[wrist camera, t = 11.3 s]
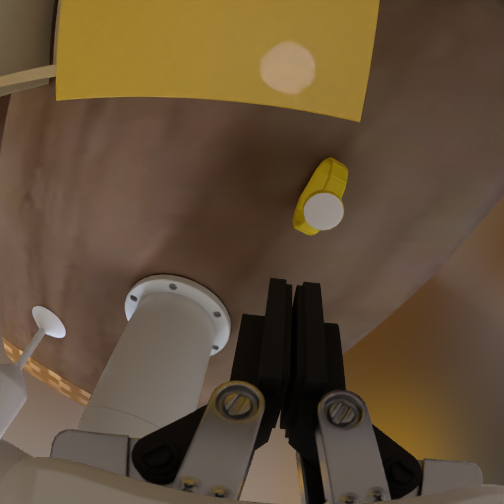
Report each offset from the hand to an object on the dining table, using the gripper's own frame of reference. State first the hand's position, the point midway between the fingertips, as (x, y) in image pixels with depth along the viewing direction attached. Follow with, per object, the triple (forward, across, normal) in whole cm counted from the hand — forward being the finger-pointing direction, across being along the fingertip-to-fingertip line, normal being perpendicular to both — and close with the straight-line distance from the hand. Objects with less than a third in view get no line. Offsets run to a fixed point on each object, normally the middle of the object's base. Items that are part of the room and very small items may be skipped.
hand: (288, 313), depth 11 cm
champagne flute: (+17, +33, +26) cm, 45 cm away
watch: (+17, -2, +1) cm, 18 cm away
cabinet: (+17, +5, -13) cm, 22 cm away
